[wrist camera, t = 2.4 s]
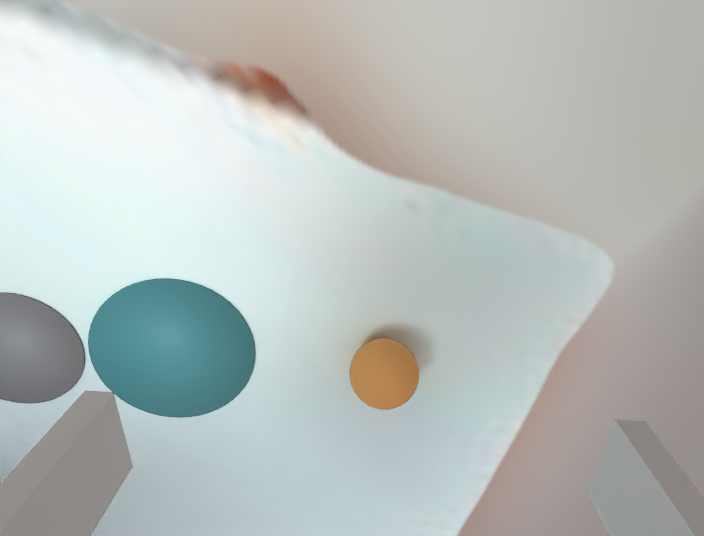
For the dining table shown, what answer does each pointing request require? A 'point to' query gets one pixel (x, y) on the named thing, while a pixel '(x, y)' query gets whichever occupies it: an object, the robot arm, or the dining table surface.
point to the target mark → (171, 348)
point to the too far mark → (36, 351)
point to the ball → (384, 373)
